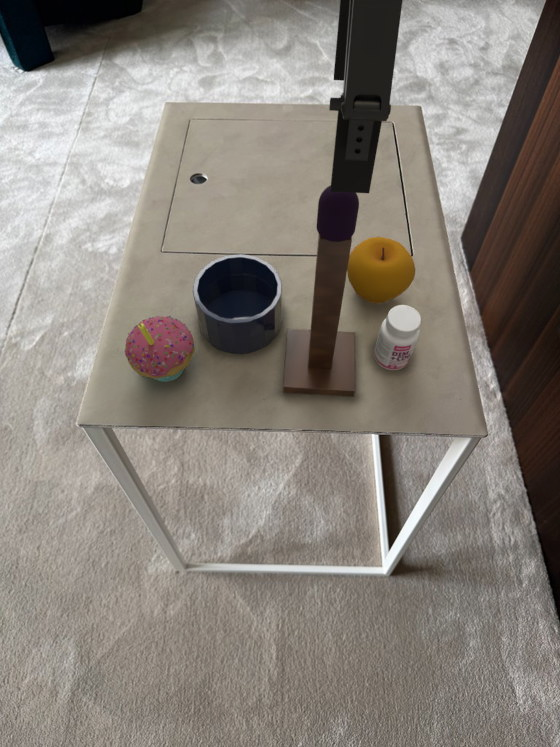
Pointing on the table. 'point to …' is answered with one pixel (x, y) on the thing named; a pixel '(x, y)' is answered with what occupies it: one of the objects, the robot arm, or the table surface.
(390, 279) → the apple
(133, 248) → the table surface
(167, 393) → the table surface
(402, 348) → the pill bottle
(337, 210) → the purple plum
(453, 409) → the table surface
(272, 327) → the pot
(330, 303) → the stand
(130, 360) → the cupcake
